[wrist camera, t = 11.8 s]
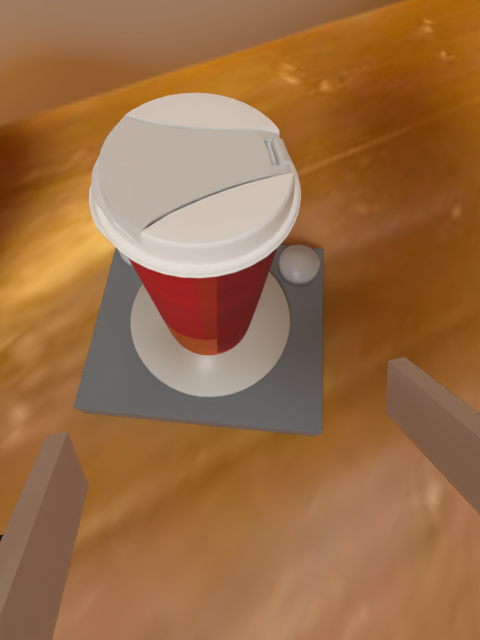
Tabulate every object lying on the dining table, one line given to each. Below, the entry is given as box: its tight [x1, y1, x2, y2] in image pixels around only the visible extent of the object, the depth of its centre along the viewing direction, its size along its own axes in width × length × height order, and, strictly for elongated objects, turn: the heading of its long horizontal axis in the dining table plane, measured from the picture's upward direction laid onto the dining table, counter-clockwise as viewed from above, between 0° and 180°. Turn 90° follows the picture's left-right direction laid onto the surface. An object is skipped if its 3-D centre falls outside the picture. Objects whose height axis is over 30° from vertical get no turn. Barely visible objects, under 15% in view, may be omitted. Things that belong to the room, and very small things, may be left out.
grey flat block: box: [74, 244, 323, 436], centre depth 27 cm, size 16×14×3 cm
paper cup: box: [89, 93, 301, 356], centre depth 19 cm, size 8×8×14 cm
